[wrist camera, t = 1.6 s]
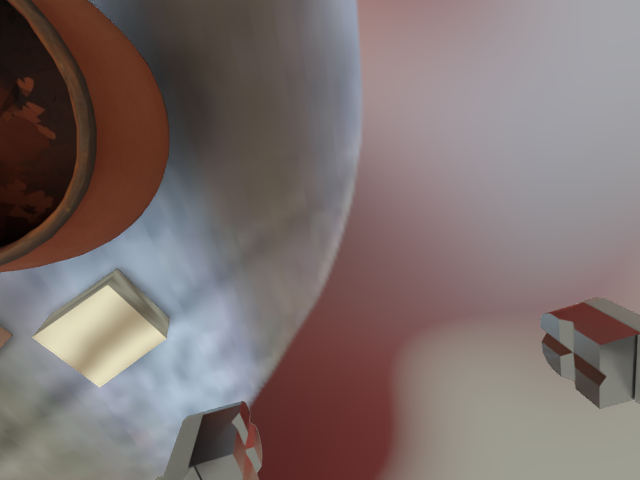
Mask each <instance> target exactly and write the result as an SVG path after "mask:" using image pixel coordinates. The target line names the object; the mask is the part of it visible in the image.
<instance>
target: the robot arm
mask: <svg viewBox="0 0 640 480" xmlns="http://www.w3.org/2000/svg"><path fill="white" fill-rule="evenodd" d="M540 320H541V328H542V329H543V330H544V331H545V332H546V335H545V337H544V338H543V340H542V349H543V354H544V356H545V358H546V360H547V362H548V364H549V365H550V366H551V367H552V369H553V370H554V371H555V372H556V373H558V374H559V375H560V376H561V377H564V378H567V379H570V380H572V381H574V382H575V387H576V390H578V391H579V392H580V393H581V394H582V395H583V396H585V397H586V398H587V399H588V400H590V401H591V402H592V403H593V404H594V405H596V406H597V407H598V408H599V409H602V408H605V407H609V406H613V405H616V404H620V403H624V402H628V401H631V400H635V402H637V403H639V404H640V315H638V314H636V313H634V312H632V311H630V310H628V309H626V308H624V307H622V306H620V305H618V304H616V303H614V302H612V301H610V300H608V299H606V298H601V297H595V298H592V299H589V300H585V301H582V302H579V303H578V304H574V305H571V306H568V307H565V308H561V309H558V310H554V311H551V312H548V313H544V314H543V315H542V317H541V319H540ZM249 421H250V411H249V408H248V406H247V404H246V402H244V401H241V402H238V403H234V404H230V405H226V406H223V407H219V408H215V409H211V410H208V411H206V412H201V413H198V414H194V415H190V416H187V417H186V418H185V419H184V420H183V422H182V425H181V428H180V431H179V434H178V437H177V439H176V442H175V445H174V448H173V451H172V454H171V456H170V459H169V462H168V465H167V468H166V471H165V474H164V476H161V477H158V478H157V479H156V480H259V478H258V476H257V472H258V471H259V469H260V468H261V466H262V449H261V441H260V437H259V433H258V430H257V428H256V426H255V425H254V424H252V423H250V422H249Z"/></svg>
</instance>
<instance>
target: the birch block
mask: <svg viewBox="0 0 640 480" xmlns="http://www.w3.org/2000/svg"><path fill="white" fill-rule="evenodd" d="M169 319H170V318H169V317H168V316H167V315H165V314H164V313H163V312H162V311H161V310H160V309H159V308H158V307H157V306H156V305H155V304H154V303H153V302H152V301H151V300H150V299H149V298H148V297H147V296H146V295H144V294H143V293H142V292H141V291H140V290H139V289H138V288H137V287H136V286H135V285H134V284H133V283H132V282H131V281H130V280H129V279H128V278H127V277H126V276H125V275H124V274H122V273H121V272H120V271H119V270H118V269H116V270H114V271H113V272H111V273H110V274H109V275H107V276H106V277H104V278H103V279H101V280H100V281H98V282H97V283H96V284H94V285H93V286H91V287H90V288H88V289H87V290H86V291H84V292H83V293H81V294H80V295H78V296H77V297H75V298H74V299H73V300H71V301H70V302H68V303H67V304H65V305H64V306H63V307H61V308H60V309H58V310H57V311H55V312H54V313H52V314H51V315H50V316H49V317H48V318H47V320H46V321H45V322H44V323H43V325H42V326H41V327H40V328H39V329H38V331H37V332H36V333H35V334H34V336H33V337H32V338H33V339H35V340H36V341H38V342H39V343H40V344H42V345H43V346H44V347H46V348H47V349H48V350H50V351H51V352H52V353H54V354H55V355H57V356H58V357H59V358H61V359H62V360H63V361H65V362H66V363H67V364H69V365H70V366H71V367H73V368H74V369H76V370H77V371H78V372H80V373H81V374H82V375H84V376H85V377H86V378H88V379H89V380H90V381H92V382H93V383H94V384H96V385H97V386H99V387H101V386H102V385H104V384H105V383H107V382H108V381H109V380H111V379H112V378H113V377H115V376H116V375H117V374H119V373H120V372H122V371H123V370H124V369H126V368H127V367H128V366H130V365H131V364H132V363H134V362H135V361H137V360H138V359H139V358H141V357H142V356H143V355H145V354H146V353H147V352H149V351H150V350H152V349H153V348H154V347H156V346H157V345H158V344H160V343H161V342H162V341H164V340H165V339H167V332H168V326H169Z"/></svg>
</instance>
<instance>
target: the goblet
mask: <svg viewBox="0 0 640 480" xmlns="http://www.w3.org/2000/svg"><path fill="white" fill-rule="evenodd" d="M168 155H169V121H168V114H167V109H166V106H165V102H164V99H163V96H162V93H161V91H160V89H159V87H158V84H157V82H156V80H155V78H154V75H153V73H152V71H151V70H150V68H149V66H148V64H147V62H146V61H145V60H144V58H143V57H142V56H141V54H140V53H139V52H138V51H137V49H136V48H135V47H134V45H133V44H132V43H131V42H130V41H129V39H128V38H127V37H126V36H125V35H124V34H123V33H122V32H121V30H120V29H119V28H118V27H117V26H116V25H114V24H113V23H112V22H111V21H110V20H109V19H108V18H107V17H106V16H105V15H104V14H103V13H102V12H101V11H100V10H99V9H98V8H97V7H95V6H94V5H93V4H92V3H90V2H89V1H88V0H0V272H6V271H15V270H22V269H28V268H35V267H40V266H43V265H47V264H51V263H55V262H59V261H62V260H66V259H70V258H73V257H76V256H80V255H83V254H85V253H87V252H89V251H91V250H93V249H95V248H97V247H99V246H101V245H103V244H105V243H107V242H109V241H111V240H113V239H114V238H116V237H117V236H119V235H120V234H121V233H122V232H124V231H125V230H126V229H127V228H129V227H130V226H131V225H132V224H133V223H134V222H135V221H136V220H137V219H138V218H139V217H140V216H141V215H142V213H143V212H144V211H145V209H146V208H147V207H148V205H149V204H150V202H151V201H152V199H153V197H154V196H155V194H156V192H157V190H158V188H159V186H160V184H161V181H162V179H163V175H164V171H165V167H166V164H167V160H168Z"/></svg>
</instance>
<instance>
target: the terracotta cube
mask: <svg viewBox="0 0 640 480" xmlns="http://www.w3.org/2000/svg"><path fill="white" fill-rule="evenodd" d="M11 336H12V334H11V333H9V332H8V331H6V330H5V329H3V328H2V327H0V348H1V347H2V346H3V345H4V344H5V343H6V341H7V340H8V339H9V338H10V337H11Z"/></svg>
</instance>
